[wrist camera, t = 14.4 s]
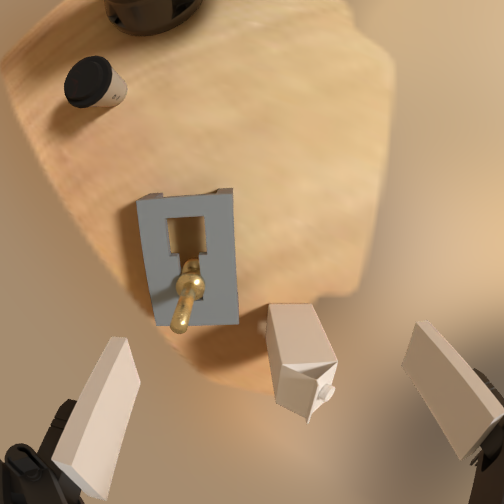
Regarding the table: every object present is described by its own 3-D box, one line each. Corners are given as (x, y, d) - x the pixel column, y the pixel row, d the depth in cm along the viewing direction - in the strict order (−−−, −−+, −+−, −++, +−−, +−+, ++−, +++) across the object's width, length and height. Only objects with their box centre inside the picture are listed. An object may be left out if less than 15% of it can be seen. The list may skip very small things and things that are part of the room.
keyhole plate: (149, 193, 39) (136, 200, 34) (232, 188, 40) (232, 193, 34) (164, 305, 45) (156, 325, 40) (238, 303, 46) (239, 324, 40)
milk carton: (265, 338, 48) (279, 426, 31) (268, 302, 46) (286, 388, 28) (305, 337, 49) (334, 420, 31) (311, 302, 47) (348, 383, 29)
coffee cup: (127, 62, 33) (99, 42, 23) (141, 100, 35) (114, 86, 25) (88, 86, 33) (53, 73, 24) (101, 122, 35) (66, 117, 26)
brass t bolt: (181, 258, 42) (157, 311, 28) (207, 257, 42) (194, 310, 28) (184, 282, 43) (164, 341, 29) (209, 281, 43) (199, 341, 29)
